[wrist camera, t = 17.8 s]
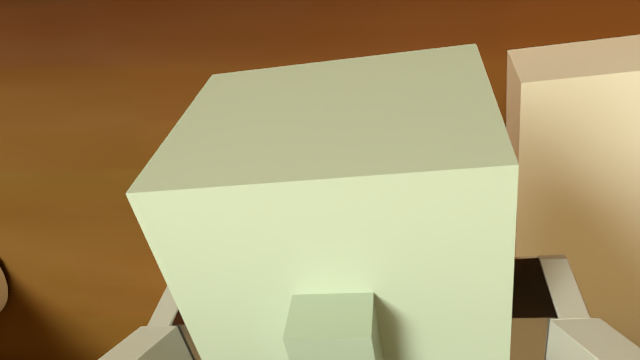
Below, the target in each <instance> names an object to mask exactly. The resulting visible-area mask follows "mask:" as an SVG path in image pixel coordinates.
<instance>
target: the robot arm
mask: <svg viewBox="0 0 640 360" xmlns="http://www.w3.org/2000/svg"><path fill="white" fill-rule="evenodd" d="M7 299H8V286H7V282H6V279H5V276H4V274H3V271H2V269H1V268H0V312H1V311H2V309H3V308H4V307H5V305H6V302H7ZM98 360H201V358H200V355H199V353H198V351H197V349H196V347H195V344H194V342H193V340H192V338H191V336H190V333H189V331H188V329H187V327H186V325H185V323H184V320H183V318H182V316H181V314H180V312H179V309H178V307H177V305H176V303H175V301H174V298H173V296H172V294H171V292H170V290H169V288H168V286H167V288H166V290H165V292H164V294H163V296H162V298H161V300H160V302H159V304H158V306H157V308H156V310H155V311H154V313H153V315H152V317H151V319H150V321H149V323H148V325H147V326H144V327H140V328H138V329H137V330H136V331H135V332H133V333H132V334H131V335H129V336H128V337H127V338H125V339H124V340H123V341H122V342H120V343H119V344H118V345H116V346H115V347H114V348H112V349H111V350H110V351H109V352H107V353H106V354H105V355H103V356H102V357H101V358H100V359H98ZM510 360H640V348H639V347H638V346H637V345H635V344H634V343H633V342H631V341H630V340H629V339H627V338H626V337H625V336H623V335H622V334H621V333H619V332H618V331H617V330H615V329H614V328H613V327H611V326H610V325H609V324H607V323H606V322H604V321H603V320H602V319H600V318H591V316H590V313H589V311H588V308H587V306H586V303H585V301H584V298H583V296H582V293H581V291H580V288H579V286H578V283H577V281H576V278H575V276H574V273H573V271H572V268H571V266H570V263H569V261H568V258H567V257H566V256H565V255H564V254H558V255H540V256H526V257H514V279H513V300H512V322H511V343H510Z"/></svg>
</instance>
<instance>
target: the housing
mask: <svg viewBox="0 0 640 360" xmlns="http://www.w3.org/2000/svg"><path fill="white" fill-rule="evenodd" d="M506 130H507V133H508V136H509V138H510V141H511V144H512V147H513V150H514V153H515V155H516V158H517V161H518V164H519V172H518V193H517V214H516V236H515V257H526V256H540V255H558V254H564V255H565V256H566V257H567V258H568V261H569V263H570V266H571V268H572V271H573V273H574V276H575V278H576V281H577V283H578V286H579V288H580V291H581V293H582V296H583V298H584V301H585V303H586V306H587V308H588V311H589V313H590V316H591V318H600V319H602V320H603V321H604V322H606V323H607V324H609V325H610V326H611V327H613V328H614V329H615V330H617V331H618V332H619V333H621V334H622V335H623V336H625V337H626V338H627V339H629V340H630V341H631V342H633V343H634V344H635V345H637V346H638V347H639V348H640V35H633V36H625V37H616V38H608V39H599V40H591V41H582V42H574V43H565V44H557V45H548V46H540V47H531V48H523V49H514V50H507V101H506Z"/></svg>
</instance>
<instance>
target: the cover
mask: <svg viewBox="0 0 640 360" xmlns="http://www.w3.org/2000/svg"><path fill="white" fill-rule="evenodd" d="M518 172H519V164H518V161H517V158H516V155H515V153H514V150H513V147H512V144H511V141H510V138H509V136H508V133H507V130H506V127H505V124H504V122H503V119H502V116H501V113H500V110H499V107H498V105H497V102H496V99H495V96H494V93H493V90H492V88H491V85H490V82H489V79H488V76H487V74H486V71H485V68H484V65H483V62H482V59H481V57H480V54H479V51H478V48H477V45H476V44H469V45H461V46H452V47H444V48H435V49H427V50H418V51H410V52H401V53H393V54H384V55H376V56H367V57H359V58H350V59H342V60H333V61H325V62H316V63H308V64H299V65H291V66H282V67H274V68H266V69H257V70H249V71H240V72H232V73H223V74H215V75H212V76H211V77H210V79H209V80H208V81H207V83H206V84H205V86H204V87H203V88H202V90H201V91H200V92H199V94H198V95H197V96H196V98H195V99H194V101H193V102H192V103H191V105H190V106H189V107H188V109H187V110H186V112H185V113H184V114H183V116H182V117H181V118H180V120H179V121H178V122H177V124H176V125H175V127H174V128H173V129H172V131H171V132H170V133H169V135H168V136H167V138H166V139H165V140H164V142H163V143H162V144H161V146H160V147H159V148H158V150H157V151H156V153H155V154H154V155H153V157H152V158H151V159H150V161H149V162H148V164H147V165H146V166H145V168H144V169H143V170H142V172H141V173H140V174H139V176H138V177H137V179H136V180H135V181H134V183H133V184H132V185H131V187H130V188H129V190H128V191H127V192H126V196H127V198H128V200H129V202H130V204H131V207H132V209H133V211H134V213H135V215H136V217H137V220H138V222H139V224H140V226H141V228H142V231H143V233H144V235H145V237H146V239H147V242H148V244H149V246H150V248H151V250H152V253H153V255H154V257H155V259H156V261H157V263H158V266H159V268H160V270H161V272H162V274H163V277H164V279H165V281H166V283H167V285H168V288H169V290H170V292H171V294H172V296H173V298H174V301H175V303H176V305H177V307H178V309H179V312H180V314H181V316H182V318H183V320H184V323H185V325H186V327H187V329H188V331H189V333H190V336H191V338H192V340H193V342H194V344H195V347H196V349H197V351H198V353H199V355H200V358H201V360H510V343H511V322H512V300H513V279H514V257H515V236H516V214H517V193H518Z"/></svg>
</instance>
